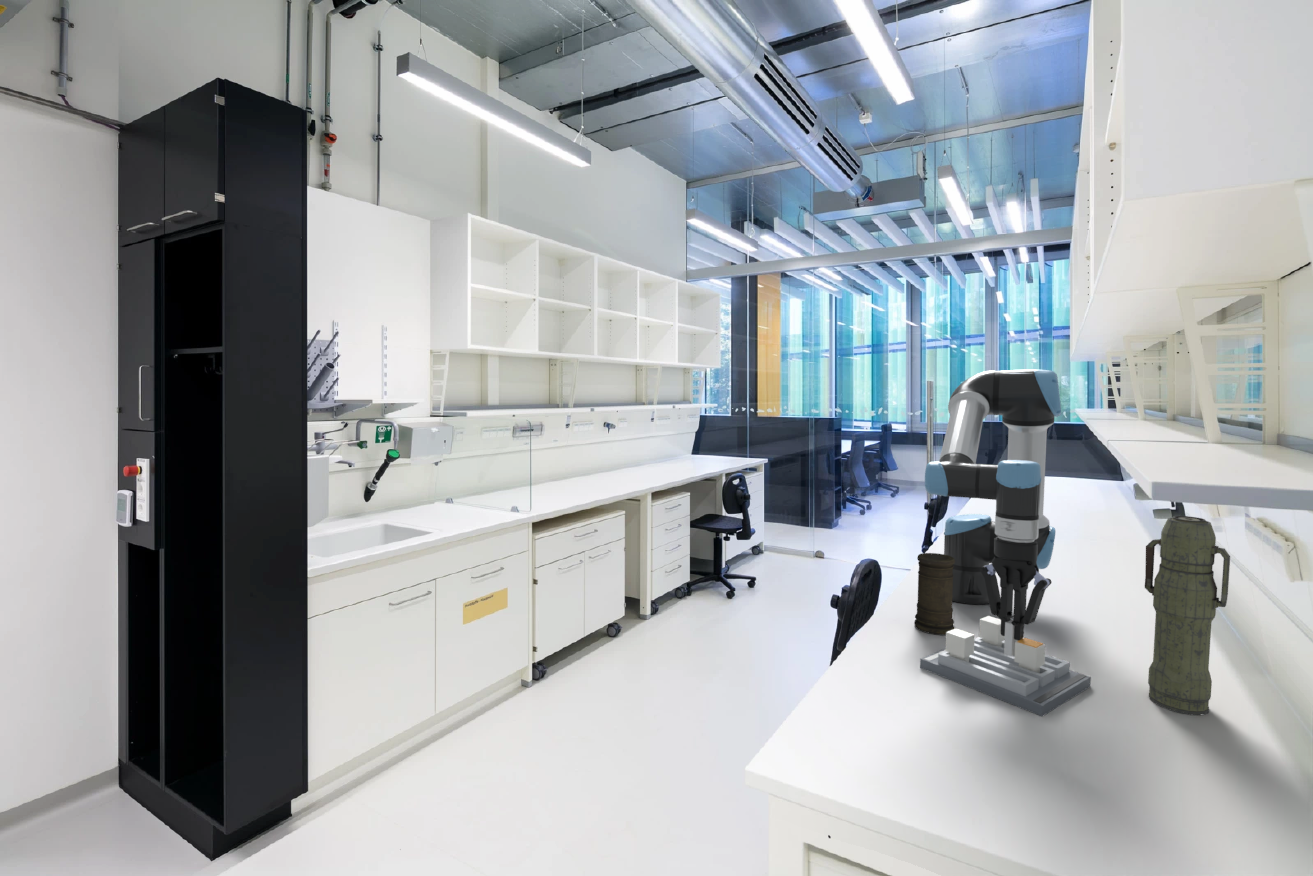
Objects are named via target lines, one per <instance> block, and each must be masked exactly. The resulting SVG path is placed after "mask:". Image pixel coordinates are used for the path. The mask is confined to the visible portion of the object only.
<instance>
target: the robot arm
mask: <svg viewBox="0 0 1313 876" xmlns="http://www.w3.org/2000/svg"><path fill="white" fill-rule="evenodd" d="M1059 386H1060V385H1059V380H1058V375H1057V373H1056V372H1055V371H1053V370H1050V369H1049V370H1048V369H1047V370H1046V369H1037V368H1033V369H1013V370H1012V369H1010V370H1006V369H1005V370H985V371H982V372H978V373H976V374H974V375H972V376H970V377H968V378H967V379H965V380H964V381H962V382H961V383H960V384H959V385H958V386H957V387H956V388H955V389H954V390H953V392H952V393H951V396H950V398H949V400H948V405H947V410H948V413H949V417H948V422H947V427H946V432H945V435H944V438H943V439H944V440H943V444H942V447H941V452H940V455H939V459H938V460H936V461H929V462H928V463H927V464H926V466H925V472H924V487H925V492H926V493H928V494H931V495H935V496H943V497H954V498H968V499H969V498H970V499H971V498H972V499H982V500H993V501H994V500H995V517H994V518H995V521H992V520H993V519H992V518H991V516H990V515H988V514H981V513H976V514H975V513H969V514H966V513H965V514H959V515H953V516H950V517H948V518H947V519H946V521H945V524H944V532H943V535H944V541H943V542H944V544H943V545H944V546H943V547H944V548H943V554H944V555H948V556H951V557H953V558H954V560H955V563H954V564H953V566H954V567H953V573H952V574H953V589H952V602H954V603H961V604H969V605H987V604H988V605H989V607H990V612H991V614H992V616H996V617H997V618H998V619H1001V635H1002V636H1005V640H1004V641H1005V642H1004V654H1006V655H1009V656H1013V655H1015V642H1016V641H1019V640H1021V639H1023V638H1025V637H1024V636H1025V635H1024V634H1025V625H1030V624H1032V623H1035V622H1036V619H1037V617H1038V613H1039V610H1040V607H1041V604H1042V601H1043V598H1044V595H1045V592H1046V591H1047V589H1048V587H1050V586H1051V584H1052V580H1051V579H1050V578H1046V577H1044V576H1043V575H1042V574H1041V573H1040V570H1045V569H1047V568H1048V566H1049V565H1050V563H1051V560H1052V557H1053V556H1052V555H1053V552H1054V545H1055V544H1054V543H1055V539H1056V528H1055V527H1053V526H1051V525H1050V519H1049V518H1047V517H1046V515H1044V504H1045V484H1046V483H1045V481H1046V480H1045V479H1046V477H1045V476H1046V460H1047V459H1046V455H1047V438H1048V437H1047V436H1048V433H1047V432H1048V428H1050V427H1051V426H1052V425H1054V423H1055V418H1056V417H1060V416H1061V415H1062V405H1061V396H1060V387H1059ZM987 416H1001V419H1002V420H1001V423H1003V424H1004V426H1005V427H1007V428H1008V433H1007V434H1008V435H1007V437H1008V438H1007V439H1008V440H1007V459H1006V460H1001V461H999V462H998V464H985V463H977V457H978V452H979V446H980V440H981V433H982V428H983V422H984V419H985V418H987ZM996 574H997V575H996ZM997 576H998V577H999V583H998V577H997ZM1033 580H1034V581H1033ZM1032 581H1033V585H1034V587H1033V589H1032V591H1031V594H1030V597H1029V599H1028V603H1027V593H1028V592H1027V590H1028V589H1029V583H1030V582H1032ZM999 587H1000V588H999Z"/></svg>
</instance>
